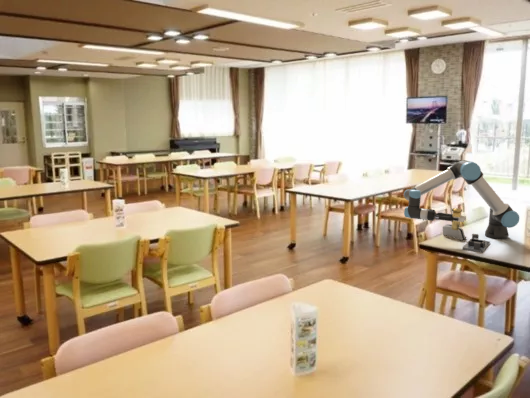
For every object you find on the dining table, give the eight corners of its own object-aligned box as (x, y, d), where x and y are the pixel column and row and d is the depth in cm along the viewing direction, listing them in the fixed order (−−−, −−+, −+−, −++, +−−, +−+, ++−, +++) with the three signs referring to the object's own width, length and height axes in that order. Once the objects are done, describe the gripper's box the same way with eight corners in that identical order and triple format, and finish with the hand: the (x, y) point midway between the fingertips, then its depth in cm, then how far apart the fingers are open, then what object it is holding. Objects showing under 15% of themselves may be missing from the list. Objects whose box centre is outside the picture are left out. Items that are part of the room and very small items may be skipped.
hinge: (467, 239, 333) (464, 226, 330) (462, 242, 331) (460, 229, 328) (447, 233, 348) (445, 221, 345) (443, 236, 346) (440, 224, 343)
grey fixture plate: (470, 240, 330) (471, 233, 329) (489, 243, 323) (490, 235, 322) (462, 249, 307) (463, 241, 306) (482, 252, 301) (483, 244, 300)
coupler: (459, 228, 318) (461, 208, 316) (461, 230, 313) (463, 210, 311) (449, 228, 319) (450, 208, 317) (451, 230, 314) (452, 209, 312)
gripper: (431, 218, 333) (467, 222, 320) (424, 222, 318) (461, 227, 305) (432, 207, 331) (468, 211, 319) (424, 211, 317) (462, 215, 304)
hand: (464, 219), depth 312 cm, fingers closed on coupler, 5 cm apart
